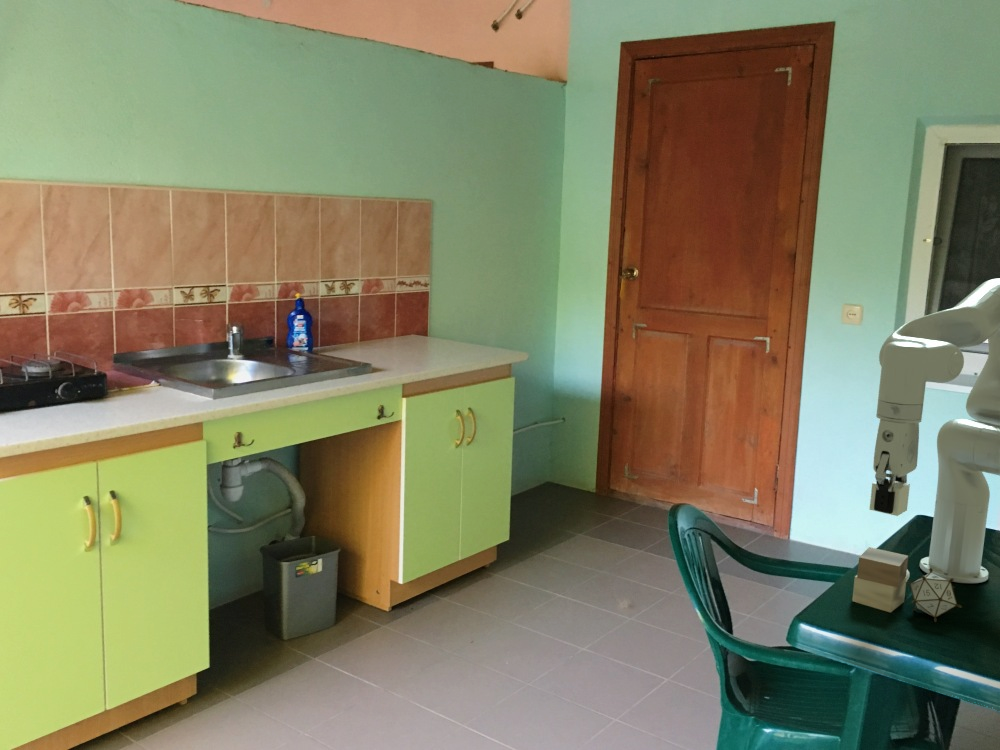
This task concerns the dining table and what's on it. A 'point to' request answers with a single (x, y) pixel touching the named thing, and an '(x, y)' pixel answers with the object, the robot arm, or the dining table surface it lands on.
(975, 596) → the dining table surface
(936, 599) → the game die
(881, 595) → the oak block
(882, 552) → the walnut block
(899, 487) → the ivory cube
